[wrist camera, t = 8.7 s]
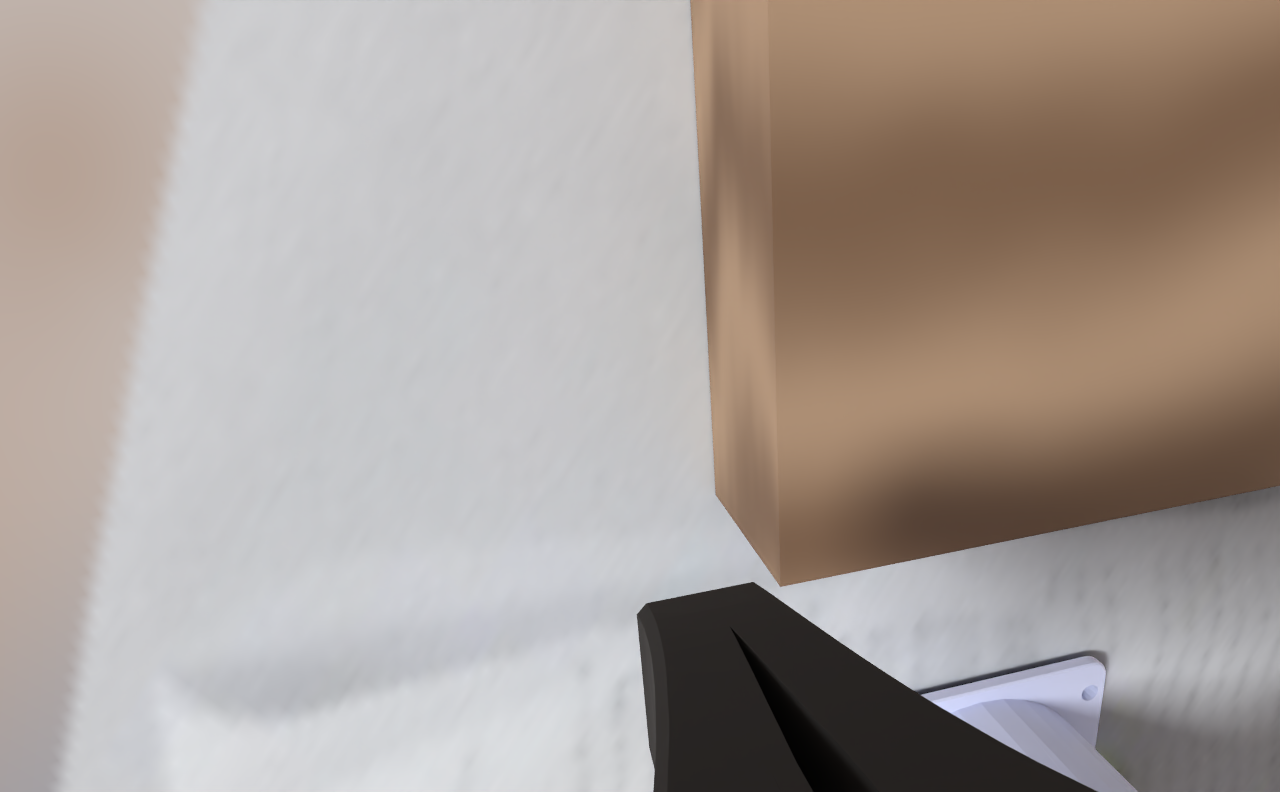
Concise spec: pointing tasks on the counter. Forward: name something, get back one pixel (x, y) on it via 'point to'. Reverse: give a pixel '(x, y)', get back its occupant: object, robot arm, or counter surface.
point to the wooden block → (985, 267)
